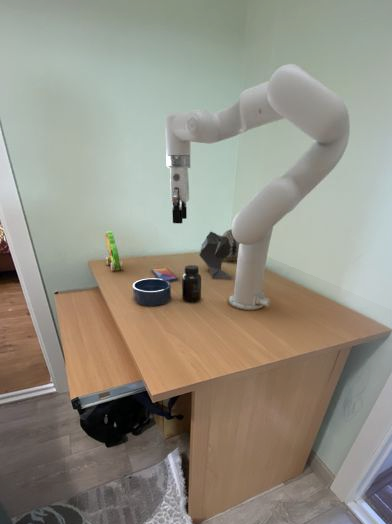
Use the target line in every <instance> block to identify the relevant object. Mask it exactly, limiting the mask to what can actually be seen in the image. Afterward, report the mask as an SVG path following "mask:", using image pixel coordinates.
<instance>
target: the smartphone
mask: <svg viewBox="0 0 392 524" xmlns="http://www.w3.org/2000/svg"><path fill="white" fill-rule="evenodd" d="M151 272H152V273H153V275H154V276H155V277H156V279H163V280H166V281H168V282H173V281H174V282H175V281H177V280H178V277H177V276H176V275H175V274H174V273H173V272H172V270H171V269H169V268H168V267H167V266H165V267H164V266H163V267H154V268H151Z"/></svg>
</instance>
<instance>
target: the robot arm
mask: <svg viewBox="0 0 392 524" xmlns="http://www.w3.org/2000/svg"><path fill="white" fill-rule="evenodd" d="M283 119H285V120H286V121H288V122H289V123H290V124H292V125H293V126H295V127H296V128H297V129H298V130H300V131H302V132H303V133H304V134H305V135H306V136H308V137H309V138H311V139H312V140H313V141H312V144H311V145H310V147H309V148H307V150H306V151H305V152H303V154H302V155H301V156H300V157H299V158H298V159H297V160H296V161H295V162H294V163H293V165H291V167H289V168H288V169H287V170H286V171H285V173H283V174H282V175H281V176H279V177H275V178H272V179H271V180H269V181H268V182H266V183H265V184H264V185H263V186H262V187H261V188H260V189H259V190H258V191H257V192H256V193H255V194H254V195H253V197H251V198H250V200H249V201H248V202H246V204H245V205H243V207H242V208H241V209H240V211H238V212H237V214H235V216H234V217H233V220H232V222H231V229H232V235H233V237H234V239H235V240H236V241H237V242H238V243H240V244H239V250H238V258H237V259H236V260H237V261H236V271H235V278H234V279H235V280H234V291H233V294H232V295H231V296H229V299H228V303H229V304H230V305H231V306H233V307H235V308H236V309H239V310H240V309H241V310H247V311H248V310H249V311H252V310H253V311H255V310H259V309H261V308H263V307H266V308H268V307H269V306H270V303H271V299H270V298H268V297H265V292H264V291H263V286H264V278H265V272H266V267H267V259H268V254H269V246H270V242H271V239H272V234H273V229H274V226H276V225H277V224H278V223H279V222H280V221H281V220H282V219H284V218H285V216H287V214H289V213H291V212H293V211H294V210H295V208H296V207H297V206H298V205H299V204H300V203H301V201H303V200H304V198H306V197H307V195H309V194H310V193H311V192H312V191H313V190H314V189H316V187H317V186H318V185H319V184H320V183H321V182H322V181H323V180H324V179H325V178H326V177H328V175H329V174H330V173H331V172H332V171H333V170H334V169H335V168H336V166H337V165H338V164H339V162H340V161H341V159H342V157H343V156H344V154H345V152H346V149H347V146H348V144H349V140H350V133H351V132H350V131H351V130H350V128H351V126H350V115H349V111H348V107H347V106H346V103H345V101H344V100H343V99H342V97H340V96H339V95H338V94H337V93H336V92H334V91H332V90H331V89H330V88H329V87H327V86H325V85H324V84H322V83H321V82H320V81H319V80H318V79H316V78H314V77H313V76H312V75H310V74H309V73H308V72H306V71H305V70H304V69H303V68H301V67H300V66H299V65H297V64H294V63H287V64H284V65H282V66H280V67H278V68H277V69H276V70H275V71H274V72H273V73H272V75H271V76H270V78H269V80H267V81H265V82H262V83H259V84H257V85H254V86H252V87H249V88H246V89H243V91H242V92H241V93H240V95H239V96H238V98H237V100H236V101H235V102H234V103H233V104H231V105H230V106H227V107H224V108H222V109H220V110H216V111H214V112H209V111H206V110H202V109H197V108H196V109H195V108H194V109H191V110H187V111H183V112H181V111H180V112H179V111H175V112H173V111H172V112H169V113H167V114H166V115H165V118H164V128H165V129H164V131H165V132H164V133H165V151H166V152H165V154H166V155H165V156H166V169H169V183H170V187H169V188H170V202H172V212H171V213H172V223H173V224H179V225H180V224H183V220H184V219H185V220H186V219H187V217H188V216H187V215H188V214H187V208H188V207H187V202H189V200H190V184H189V183H190V182H189V169H191V143H196V144H197V143H198V144H215V143H218V142H221V141H225V140H229V139H231V138H233V137H236V136H238V135H241V134H243V133H246V132H248V131H250V130H252V129H255V128H259V127H262V126H265V125H267V124H271V123H274V122H278V121H280V120H283Z"/></svg>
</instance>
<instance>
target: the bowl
mask: <svg viewBox="0 0 392 524" xmlns="http://www.w3.org/2000/svg"><path fill="white" fill-rule="evenodd" d="M132 293H133V300H134V301H135V302H136V303H137V304H139V305H141V306H146V307H158V306H162V305H165V304H167V303H168V302H169V301H171V298H172V285H171V283H170V281H166V280H163V279H158V278H157V277H156V278H153V277H152V278H151V277H150V278H144V279H140V280H136V281H135V282H134V283H133V284H132Z"/></svg>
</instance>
